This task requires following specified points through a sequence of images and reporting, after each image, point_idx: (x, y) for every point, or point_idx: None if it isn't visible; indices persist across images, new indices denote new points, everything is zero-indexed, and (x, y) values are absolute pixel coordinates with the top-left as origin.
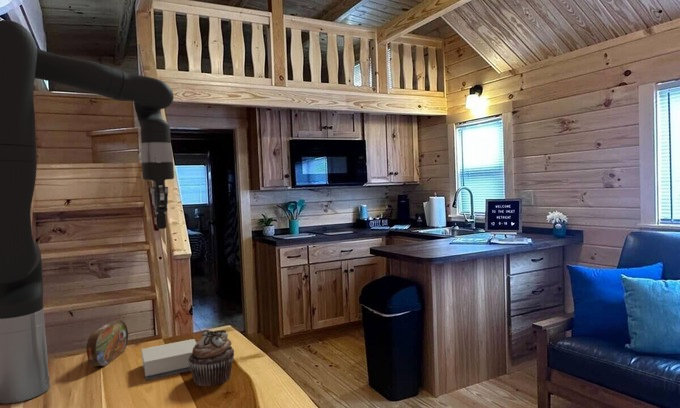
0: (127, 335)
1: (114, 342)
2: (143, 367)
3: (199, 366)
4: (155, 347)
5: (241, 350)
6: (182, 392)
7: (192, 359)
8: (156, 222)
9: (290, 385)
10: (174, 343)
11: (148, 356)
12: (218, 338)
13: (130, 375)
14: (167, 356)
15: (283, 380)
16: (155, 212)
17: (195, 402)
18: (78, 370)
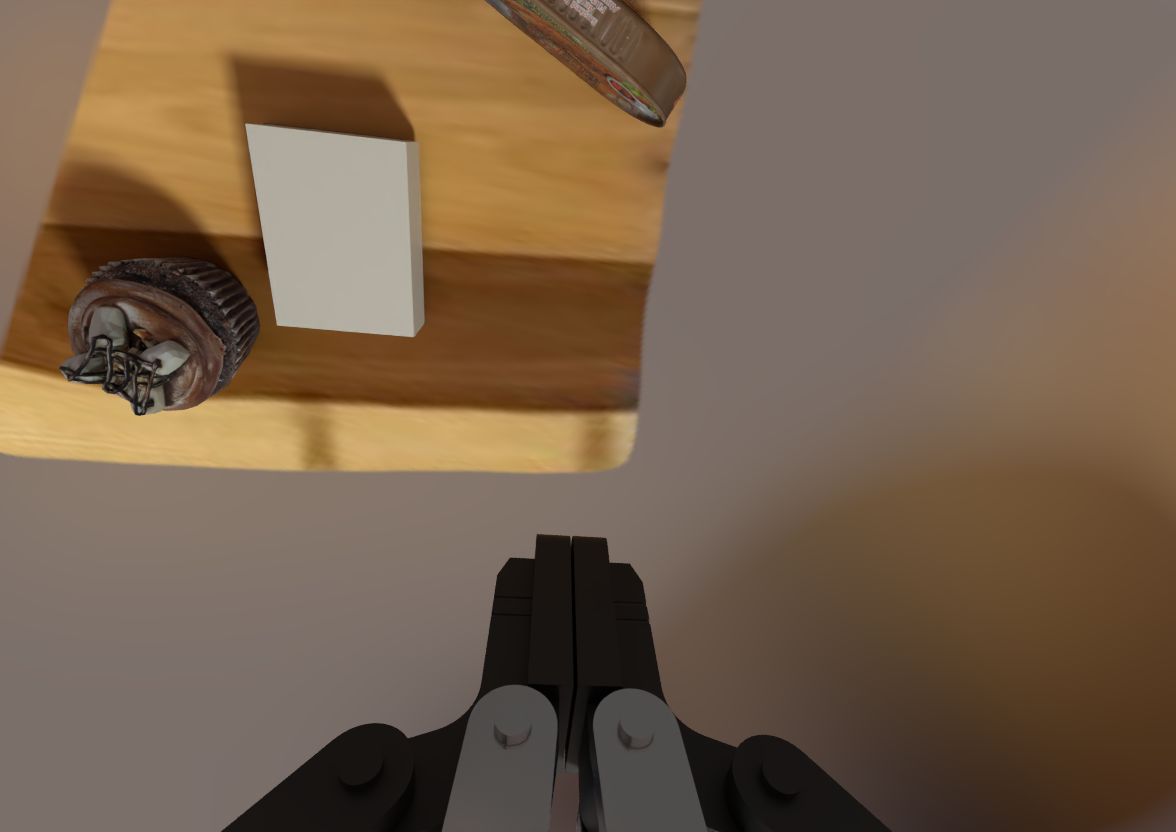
0: (657, 124)
1: (575, 50)
2: (375, 136)
3: (88, 279)
4: (392, 194)
5: (383, 438)
6: (124, 209)
7: (123, 271)
8: (597, 584)
9: (77, 455)
10: (400, 266)
11: (301, 149)
12: (69, 374)
13: (342, 81)
14: (269, 213)
15: (114, 453)
16: (492, 712)
17: (40, 225)
18: None
